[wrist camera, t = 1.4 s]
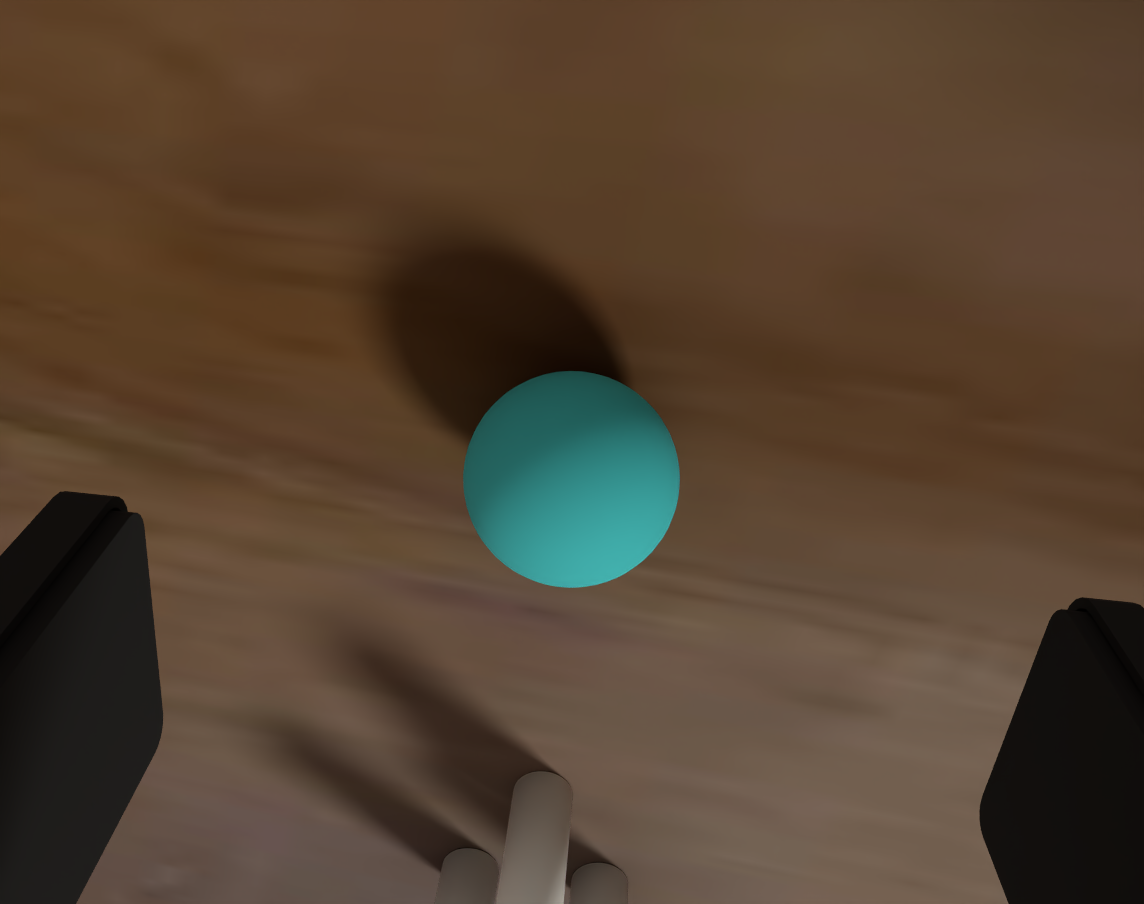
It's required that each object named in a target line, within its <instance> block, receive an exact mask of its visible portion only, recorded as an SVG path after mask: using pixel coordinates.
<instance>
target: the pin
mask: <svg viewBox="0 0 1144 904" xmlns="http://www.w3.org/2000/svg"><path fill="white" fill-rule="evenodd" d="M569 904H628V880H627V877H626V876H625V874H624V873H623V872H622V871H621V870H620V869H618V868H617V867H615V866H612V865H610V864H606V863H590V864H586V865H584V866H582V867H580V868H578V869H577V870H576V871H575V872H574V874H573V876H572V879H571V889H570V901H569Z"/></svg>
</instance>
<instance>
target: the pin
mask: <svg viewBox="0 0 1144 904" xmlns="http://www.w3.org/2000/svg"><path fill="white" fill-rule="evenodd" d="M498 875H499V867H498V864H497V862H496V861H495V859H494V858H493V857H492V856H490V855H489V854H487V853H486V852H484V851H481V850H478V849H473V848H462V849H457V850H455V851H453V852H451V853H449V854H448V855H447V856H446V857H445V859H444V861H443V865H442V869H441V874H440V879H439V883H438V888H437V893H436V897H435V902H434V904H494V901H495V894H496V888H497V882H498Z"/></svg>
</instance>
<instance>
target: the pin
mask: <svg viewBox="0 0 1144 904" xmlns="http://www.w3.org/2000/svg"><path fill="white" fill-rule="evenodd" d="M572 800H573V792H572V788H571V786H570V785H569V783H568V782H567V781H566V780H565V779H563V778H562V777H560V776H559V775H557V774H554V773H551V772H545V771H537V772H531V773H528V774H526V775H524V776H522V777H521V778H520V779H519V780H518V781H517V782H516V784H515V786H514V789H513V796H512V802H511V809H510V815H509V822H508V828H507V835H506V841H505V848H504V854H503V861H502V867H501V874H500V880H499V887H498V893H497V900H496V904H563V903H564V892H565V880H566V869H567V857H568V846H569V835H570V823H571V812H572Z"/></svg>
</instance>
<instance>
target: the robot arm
mask: <svg viewBox="0 0 1144 904" xmlns="http://www.w3.org/2000/svg"><path fill="white" fill-rule="evenodd" d="M162 726H163V708H162V698H161V688H160V679H159V669H158V659H157V649H156V639H155V629H154V619H153V609H152V599H151V589H150V579H149V569H148V559H147V549H146V539H145V529H144V523H143V519H142V517H141V515H139V514H138V513H132V512H128V511H127V507H126V505H125V503H124V501H123V499H121V498H120V497H116V496H106V495H97V494H87V493H78V492H68V491H64V492H59V493H58V494H57V495H55V496H54V497H53V498H52V499H51V500H50V502H49V503H48V504H47V505H46V506H45V507H44V508H43V509H42V510H41V511H40V513H39V514H38V515H37V516H36V517H35V518H34V519H33V520H32V521H31V523H30V524H29V525H28V526H27V527H26V528H25V529H24V530H23V531H22V532H21V534H20V535H19V536H18V537H17V538H16V539H15V540H14V541H13V542H12V544H11V545H10V546H9V547H8V548H7V549H6V550H5V551H4V552H3V554H2V555H1V556H0V904H76V903H77V901H78V899H79V897H80V895H81V893H82V891H83V889H84V887H85V886H86V884H87V882H88V880H89V878H90V876H91V874H92V872H93V870H94V868H95V866H96V865H97V863H98V861H99V859H100V857H101V855H102V853H103V851H104V849H105V847H106V845H107V844H108V842H109V840H110V838H111V836H112V834H113V832H114V830H115V828H116V826H117V825H118V823H119V821H120V819H121V817H122V815H123V813H124V811H125V809H126V807H127V805H128V804H129V802H130V800H131V798H132V796H133V794H134V792H135V790H136V788H137V786H138V784H139V783H140V781H141V779H142V777H143V775H144V773H145V771H146V769H147V767H148V765H149V764H150V762H151V760H152V758H153V756H154V754H155V752H156V749H157V747H158V744H159V741H160V738H161V733H162ZM980 826H981V831H982V835H983V838H984V841H985V843H986V846H987V848H988V851H989V854H990V856H991V859H992V861H993V864H994V867H995V869H996V872H997V875H998V877H999V880H1000V882H1001V885H1002V888H1003V890H1004V893H1005V895H1006V898H1007V901H1008V903H1009V904H1144V608H1143V607H1142V606H1141V605H1139V604H1136V603H1131V602H1121V601H1112V600H1102V599H1093V598H1083V597H1082V598H1079V599H1076V600H1075V601H1074V602H1073V603H1072V604H1071V605H1070V606H1069V608H1068V610H1063V609H1061V610H1058V611H1056V612H1055V613H1054V614H1053V615H1052V617H1051V619H1050V621H1049V623H1048V626H1047V628H1046V631H1045V634H1044V636H1043V639H1042V641H1041V644H1040V647H1039V649H1038V652H1037V655H1036V657H1035V660H1034V662H1033V665H1032V668H1031V670H1030V673H1029V675H1028V678H1027V681H1026V683H1025V686H1024V689H1023V691H1022V694H1021V696H1020V699H1019V702H1018V704H1017V707H1016V710H1015V712H1014V715H1013V717H1012V720H1011V723H1010V725H1009V728H1008V730H1007V733H1006V736H1005V738H1004V741H1003V744H1002V746H1001V749H1000V751H999V754H998V757H997V759H996V762H995V764H994V767H993V770H992V772H991V775H990V778H989V780H988V783H987V785H986V788H985V791H984V793H983V796H982V800H981V804H980Z"/></svg>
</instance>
